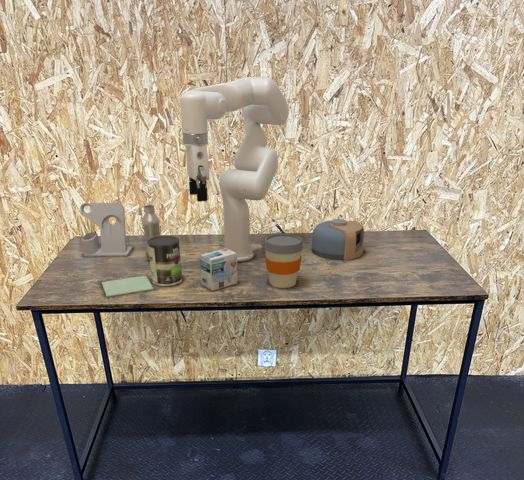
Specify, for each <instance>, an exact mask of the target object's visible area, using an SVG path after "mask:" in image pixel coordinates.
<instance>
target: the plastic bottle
mask: <svg viewBox="0 0 524 480" xmlns="http://www.w3.org/2000/svg"><path fill="white" fill-rule="evenodd" d="M143 212H144V214H143V216H142V219H141V224H142V229H143V233H144V239H145V258H146V259H147V260H148V261H149V262H150V256H149V248H148V243H147V241H148V240H149V239H150V238H153V237H157V236H161V235H160V234H161V233H160V232H161V231H160V227H161V225H160V223H161V222H160V221H161V220H160V218H159V217H158V215H157V214H156V213H155V212H156V209H155V205H153V204H147V205H144V206H143Z"/></svg>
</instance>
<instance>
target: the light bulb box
mask: <svg viewBox="0 0 524 480" xmlns="http://www.w3.org/2000/svg"><path fill="white" fill-rule="evenodd" d="M199 257H200V258H199V259H200V273H201V276H200V277H201V285H202V286H203V287H205V288H207V289H209V290H211V291H212V292H214V291H217V290H220V289H224V288H226V287H229V286H233V285H237V284H238V261H237V253H235V252H233V251H231V250H229V249H227V248H225V247H223V248H220V249H216V250H212V251H208V252H205V253H201V254H199Z"/></svg>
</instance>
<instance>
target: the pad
mask: <svg viewBox="0 0 524 480" xmlns="http://www.w3.org/2000/svg"><path fill="white" fill-rule="evenodd" d="M101 285H102V289H103V291H104V293H105V296H106V298H110V297H118V296H124V295H129V294H136V293H142V292H149V291H154V290H155V288H154V287H153V285H152V284H151V281H150V280H149V278H148V277H147V275H141V276H134V277H127V278H121V279H114V280H108V281H107V280H106V281H101Z"/></svg>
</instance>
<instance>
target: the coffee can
mask: <svg viewBox="0 0 524 480" xmlns="http://www.w3.org/2000/svg"><path fill="white" fill-rule="evenodd" d="M147 243H148V248H149V256H150V261H149V264H150V274H151V282H152V284H153V285H155V286H159V287H172V286H176V285H178V284H180V283H182V281H183V273H182V261H181V250H180V238H178V237H177V236H172V235H159V236H157V237H153V238H150V239H149V240H148V241H147Z"/></svg>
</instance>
